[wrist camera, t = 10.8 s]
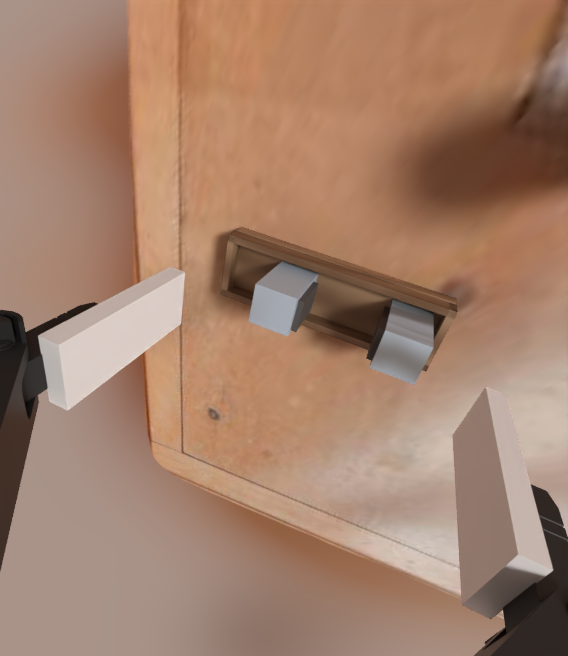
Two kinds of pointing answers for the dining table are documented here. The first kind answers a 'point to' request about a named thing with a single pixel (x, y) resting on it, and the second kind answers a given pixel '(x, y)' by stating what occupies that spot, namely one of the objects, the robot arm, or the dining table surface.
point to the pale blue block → (283, 298)
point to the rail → (350, 302)
